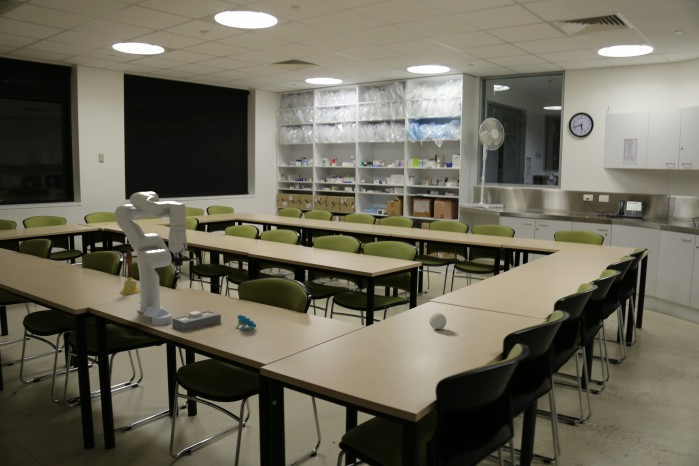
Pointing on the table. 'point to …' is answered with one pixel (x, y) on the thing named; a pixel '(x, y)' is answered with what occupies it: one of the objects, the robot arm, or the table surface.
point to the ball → (437, 321)
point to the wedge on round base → (158, 316)
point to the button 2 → (195, 314)
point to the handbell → (129, 278)
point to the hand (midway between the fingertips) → (178, 265)
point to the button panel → (196, 321)
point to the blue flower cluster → (245, 322)
